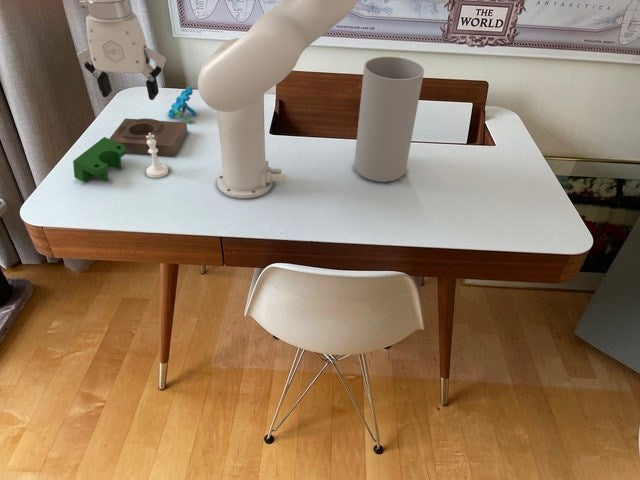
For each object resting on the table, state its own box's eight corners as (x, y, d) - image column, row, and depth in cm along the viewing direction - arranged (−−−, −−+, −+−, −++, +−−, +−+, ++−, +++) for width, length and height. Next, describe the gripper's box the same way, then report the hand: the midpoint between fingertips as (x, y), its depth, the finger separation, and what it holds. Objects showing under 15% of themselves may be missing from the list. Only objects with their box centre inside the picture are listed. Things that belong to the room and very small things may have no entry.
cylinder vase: (388, 189, 112) (405, 85, 95) (343, 170, 117) (352, 68, 101) (414, 167, 120) (434, 67, 103) (371, 150, 125) (384, 52, 109)
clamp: (104, 197, 112) (93, 178, 104) (81, 187, 112) (68, 167, 104) (132, 157, 117) (123, 135, 109) (109, 148, 117) (99, 125, 109)
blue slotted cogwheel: (170, 100, 138) (191, 78, 133) (187, 113, 141) (209, 92, 136) (161, 123, 131) (184, 101, 125) (180, 136, 134) (202, 116, 129)
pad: (188, 131, 128) (187, 121, 126) (174, 156, 119) (172, 145, 117) (128, 127, 129) (126, 116, 127) (109, 152, 119) (106, 141, 117)
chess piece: (169, 175, 113) (162, 137, 106) (147, 179, 111) (139, 140, 104) (166, 164, 116) (159, 126, 109) (145, 168, 114) (136, 129, 108)
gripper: (54, 11, 87) (81, 101, 99) (150, 16, 87) (166, 106, 98) (73, -1, 93) (96, 86, 104) (162, 4, 93) (176, 90, 104)
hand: (130, 95), depth 101 cm, fingers open, 9 cm apart
